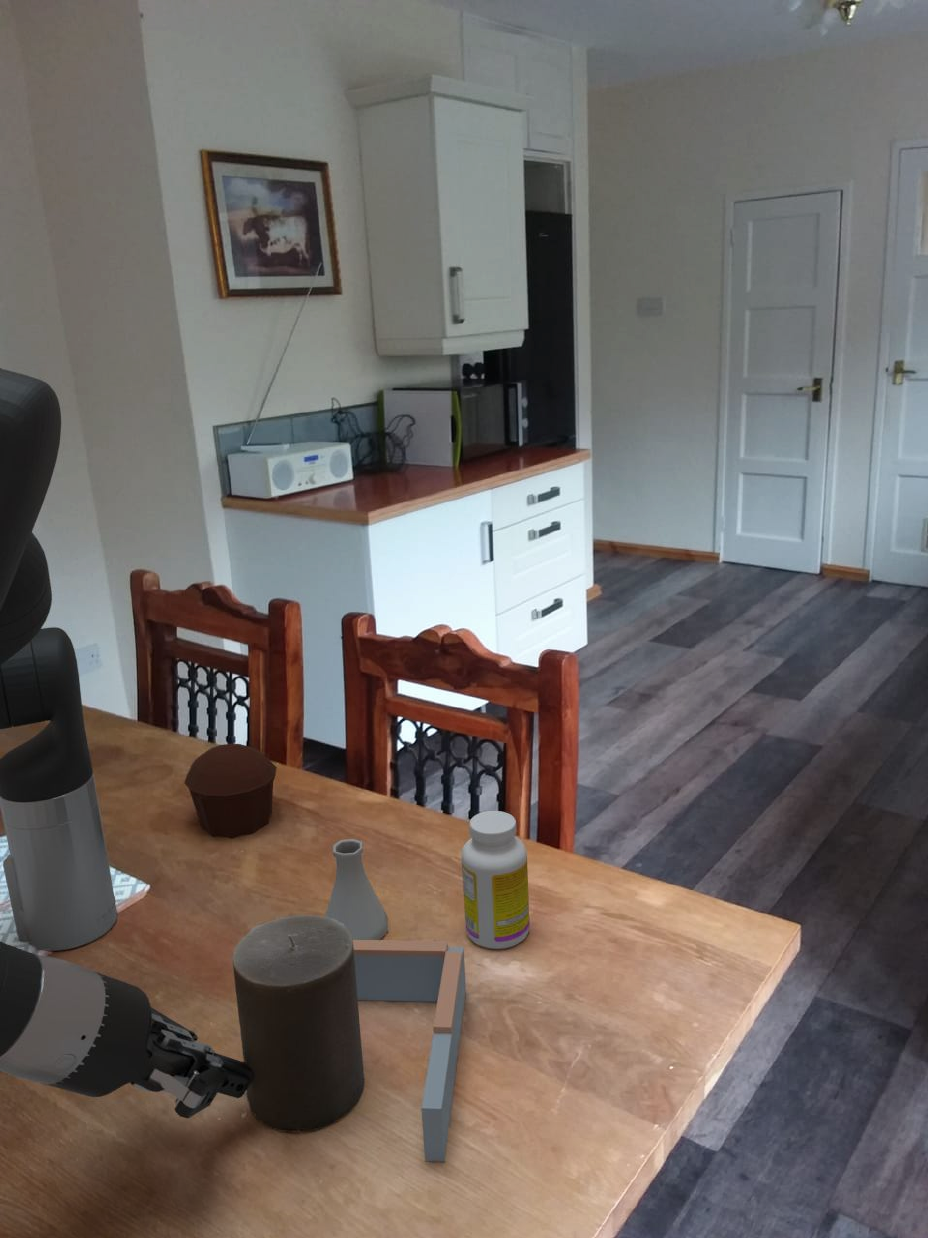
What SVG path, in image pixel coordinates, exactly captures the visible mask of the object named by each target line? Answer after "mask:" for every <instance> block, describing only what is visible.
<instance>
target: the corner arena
mask: <svg viewBox="0 0 928 1238" xmlns="http://www.w3.org/2000/svg"><path fill="white" fill-rule="evenodd" d="M448 945H449V944H448V941H447V940H403V939H402V940H400V939H398V940H396V939H395V940H391V939H389V940H387V939H386V940H385V939H379V940H353V947H354V959H355V971H356V984H357V996H358V1001H373V1002H378V1001H379V1002H414V1003H415V1002H422V1003H423V1002H424V1003H436V1009H435V1014H434V1019H433V1034H432V1041H431V1047H430V1052H429V1053H430V1054H429V1059H428V1066H427V1072H426V1079H425V1084H424V1090H423V1095H422V1101H421V1109H420V1110H421V1118H422V1119H421V1121H422V1137H423V1138H422V1139H423V1150H424V1151H423V1152H424V1153H423V1154H424V1162H443V1163H445V1162H446V1161H445V1160H446V1154H447V1153H446V1152H447V1146H448V1138H449V1137H448V1136H449V1128H450V1121H451V1113H452V1104H453V1097H454V1091H455V1084H456V1083H455V1081H456V1074H457V1066H458V1058H459V1050H460V1041H461V1035H462V1034H461V1033H462V1027H463V1019H464V1009H465V1002H466V994H467V989H466V987H467V985H466V969H465V967H466V966H465V947H464V946H448Z"/></svg>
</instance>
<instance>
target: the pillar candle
mask: <svg viewBox="0 0 928 1238" xmlns="http://www.w3.org/2000/svg"><path fill="white" fill-rule="evenodd" d="M231 959H232V960H231V961H232V968H233V969H232V971H233V975H234V976H233V979H234V987H235V995H236V1006H237V1013H238V1015H237V1016H238V1023H239V1031H240V1032H239V1033H240V1039H241V1047H242V1048H241V1049H242V1050H241V1051H242V1058H243V1062H244V1063H245V1064H246V1065H247V1066H248V1067H249V1068H250V1070H251V1071H252V1072H253V1073H254V1079H253V1080H252V1082H251V1084H250V1085H249V1087H248V1089H247V1090H246V1098H247V1101H248V1104H249V1106H250V1108H251V1112H252V1113H253V1114H254V1116H255V1117H256V1118H257V1120H258V1121H260V1122H261V1123H263V1125H265V1126H267V1127H269V1128H271V1129H273V1130H274V1129H275V1130H276V1131H282V1132H287V1133H292V1132H296V1133H297V1132H301V1133H302V1132H313V1131H315V1130H316V1131H317V1130H320V1129H323V1128H325V1127H327V1126H329V1125H331V1124H334V1123H335V1122H337V1121H338V1120H340V1119H341V1118H343V1117H344V1116H345V1115H347V1114H348V1113H349V1112H350V1111H351V1110H352V1109H353V1108H354V1107H355V1106H356V1104H357V1103H358V1102H359V1100H360V1098H361V1097H362V1094H363V1091H364V1086H365V1074H364V1072H365V1070H364V1059H363V1048H362V1036H361V1035H362V1034H361V1026H360V1025H361V1024H360V1012H359V1000H358V996H357V984H356V971H355V959H354V947H353V940H352V936H351V934H350V932H349V931H348V929H346V927H345V925H344V924H343V923H340V922H338V921H337V920H335V919H333V918H328V917H325V916H320V915H319V916H318V915H315V914H311V915H308V914H298V915H290V916H285V917H279V918H277V919H276V918H275V919H274V920H270V921H268V922H265V923H263V924H258V925H256V926H254V927H252V928H251V929H250V930H249V932H248V933H246V934H245V935H244V936H243V937H242V938H241V939H240V940H239V942H238V943H237V944H236V946H235V948H234V950H233V953H232V958H231Z"/></svg>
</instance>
